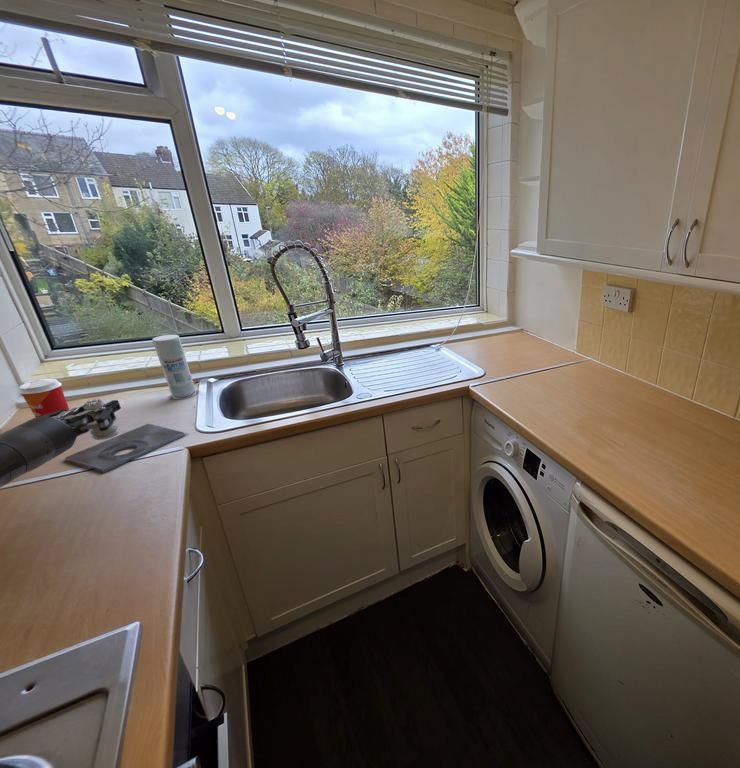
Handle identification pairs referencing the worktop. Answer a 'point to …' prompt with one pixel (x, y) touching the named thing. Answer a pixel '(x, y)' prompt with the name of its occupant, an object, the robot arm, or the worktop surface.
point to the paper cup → (44, 396)
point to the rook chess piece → (96, 431)
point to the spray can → (174, 366)
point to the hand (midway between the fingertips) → (107, 404)
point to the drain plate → (124, 447)
